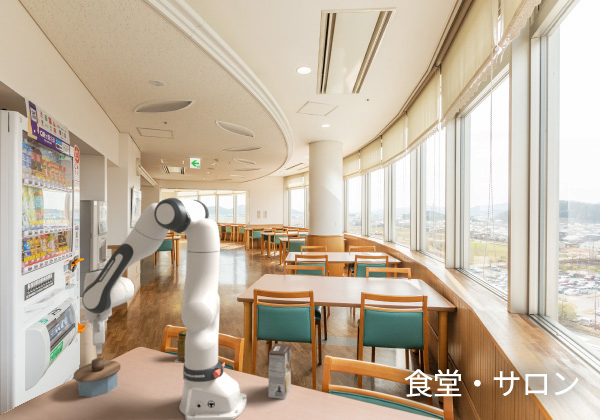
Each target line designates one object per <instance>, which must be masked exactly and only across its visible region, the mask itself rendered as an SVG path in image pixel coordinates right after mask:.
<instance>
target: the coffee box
mask: <svg viewBox="0 0 600 420" xmlns="http://www.w3.org/2000/svg"><path fill="white" fill-rule="evenodd" d="M291 351H292V344H287V343H275V344H273V346H272V348H271V349H270V350H269V352H268V387H267V389H268V398H272V399H280V400H286V399H287V398H286V397H287V395H288V394H289V391H290V389H291V387H292V374H291V373H292V366H291V365H292V357H291V356H292V352H291Z"/></svg>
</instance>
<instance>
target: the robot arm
mask: <svg viewBox="0 0 600 420" xmlns="http://www.w3.org/2000/svg"><path fill="white" fill-rule="evenodd" d="M209 214H210V213H209V209H208V207H207V206H206V204H205V203H203V202H202V201H199V200H196V199H189V198H186V197H168V198H164V199H163V200H161V201H160V202H152V203H150V204H148V206H147V207H146V208H145V209H144V210H143V212H142V213H141V215H140V216H139V217H138V219H137V221H136V222H135V224H134V225H133V228H132V230H131V231H130V232H129V234H128V235H127V236H126V238H125V240H124V241H123V242H122V243H121V244H120V245H119V247H118V248H117V249H116V250H115V251H114V252H113V253H112V254H111V256H110V258H109V259H108V261H107V262H106V263H105V265H104V266H103V268H98V269H94V270H90V271H88V272H87V273H86V274H85V277H84V283H83V293H82V296H81V300H82V301H81V302H82V306H83V308H84V309H83V310H84V311H83V313H84V316H83V317H84V320H86V321H88V324H92V345H93V346H94V347H95V354H96V355H101V354H102V353H103V344H105V342H106V331H105V329H106V328H105V323H106V322H107V321H108V320H109V318H110V317H111V316H112V315H113V314H112V313H113V312H112V311H113V310H112V309H113V308H115V307H119V306H120V305H122V304H125V303H127V302H129V301H131V300H132V299H133V298H134V296H135V294H136V293H135V292H136V286H135V283H134V282H133V280H132V279H130V278H129V277H126V276H125V277H124V276H123V275H124V273H125V272H126V270H127V269H128V268H130V267H131V266H132V265H134V264H135V263H137V262H139V261H141V260H143V259H146V258H148V257H150V256H152V255H153V254H155V253H156V252H157V250H159V248H160V247H161V245H162V244H163V242H164V241H165V239H166V237H167V235H168V233H169V231H172V232H174V233H176V234H182V233H183V234H184V235H185V237H186V258H185V259H186V261H185V262H186V264H185V265H186V266H185V268H186V269H185V279H184V285H183V286H184V287H183V294H182V304H181V313H180V314H181V315H180V316H181V323H182V325H184V327H185V328H186V330H187V331H186V338H185V362H183V363H184V364H183V370H182V371H183V372H182V373H183V375H182V376H183V389H182V396H181V398H180V399H181V400H180V403H179V411H180V412H181V413H182V414H183V415H184V418H185V420H234V419H236V418H237V417H239V416H240V415H241V414H242V412H244V409H245V408H246V406H247V402H248V399H247V398H248V397H247V395H246V393H243V392H241V388H240V384H239V382H238V381H237V380H235V379H234V378H233V377H231V376H230V375H229V374H227V373H226V372H225V371H224V367H225V364H226V362H225V361H224V362H223V363H221V362H220V360H219V332H220V311H221V310H220V309H221V308H220V307H221V298H220V295H219V293H218V291H219V282H220V281H219V279H220V267H221V266H220V265H221V264H220V261H221V260H220V259H221V239H220V238H221V237H220V230H219V226H218V224H217V222H216V221H214V220H213V219H211V218H209V216H210V215H209Z"/></svg>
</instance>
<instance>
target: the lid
mask: <svg viewBox="0 0 600 420" xmlns="http://www.w3.org/2000/svg"><path fill="white" fill-rule="evenodd" d="M120 370H121V363H120V362H118V361H116V360H105V358H104V357H97V358H94V359H92V360H91V363H88V364H85V365H83V366H82V367H79V368H78V369H77V370H75V372H74V373H73V379H74V381H77V382H78V381H79V382H92V381H98V380H102V379H105V378H108V377H110V376H112V375H114V374H116V373H117V374H118V372H119V371H120Z"/></svg>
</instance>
